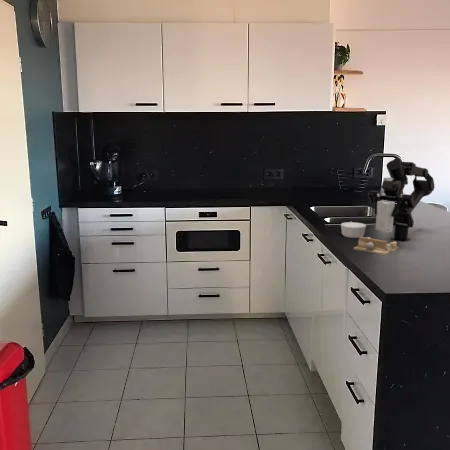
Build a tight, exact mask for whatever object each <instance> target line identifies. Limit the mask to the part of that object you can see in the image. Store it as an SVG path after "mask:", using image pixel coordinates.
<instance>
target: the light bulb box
mask: <svg viewBox="0 0 450 450" xmlns="http://www.w3.org/2000/svg"><path fill="white" fill-rule="evenodd" d="M392 179H393V178H391V177H390V176H389V177H383V181H384V180H385V181H392ZM383 181H382V182H383ZM383 191H384V189H383V188H382V193H384V192H383Z"/></svg>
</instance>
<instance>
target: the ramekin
mask: <svg viewBox="0 0 450 450" xmlns="http://www.w3.org/2000/svg"><path fill="white" fill-rule="evenodd" d="M340 228H341V235H342V236H343V237H345V238H351V239H359V237H364V236H365V232H366V228H367V225H366V223H361V222H354V221H352V222H351V221H348V222H347V221H346V222H342V223H340Z"/></svg>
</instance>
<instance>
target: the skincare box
mask: <svg viewBox="0 0 450 450" xmlns="http://www.w3.org/2000/svg"><path fill="white" fill-rule="evenodd" d="M395 203H396V202H391V201H387V200H381V201H377V214H376V218H375V230H376V231H380V232H383V233H393V232H394V231H393V229H394V225H393V218H394V216H393V217H392V216H391V215H392V212H393V210H394V207H395V206H396V204H395Z"/></svg>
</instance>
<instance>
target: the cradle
mask: <svg viewBox="0 0 450 450" xmlns="http://www.w3.org/2000/svg"><path fill="white" fill-rule="evenodd" d="M397 245H398V242H397V241H396V240H394V241H392V242H389V243H388V240H382V239H377V238H372V237H370V236H367V237H365V236H363V237H359V238H358V245H357V246H354V247H353V250H354V251H360V252H365V253H370V254H374V255H376V254H377V255H381V256H385V255H387V254H388V255H389V254H390V253H392V252H394V251H395V252H396V251H397V250H399V249H400V246H397Z"/></svg>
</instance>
